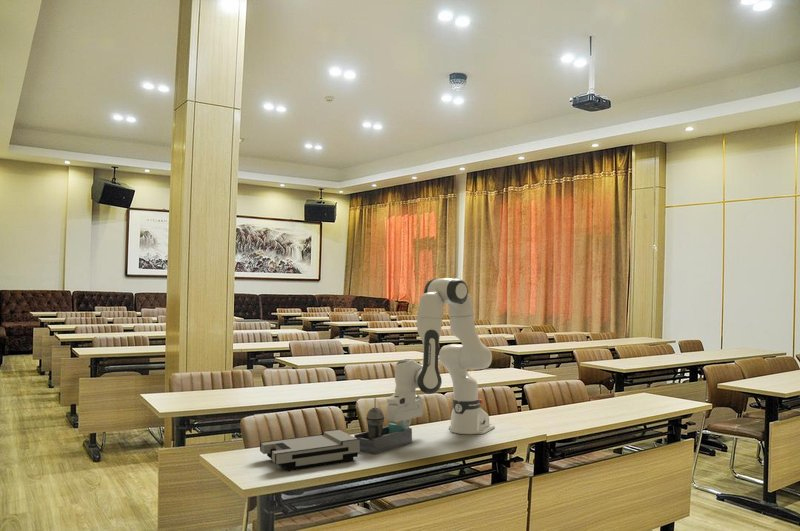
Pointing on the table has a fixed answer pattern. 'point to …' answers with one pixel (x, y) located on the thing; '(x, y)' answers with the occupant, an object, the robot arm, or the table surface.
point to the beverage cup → (375, 421)
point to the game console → (312, 450)
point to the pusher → (396, 427)
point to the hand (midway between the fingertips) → (405, 430)
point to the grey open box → (384, 440)
